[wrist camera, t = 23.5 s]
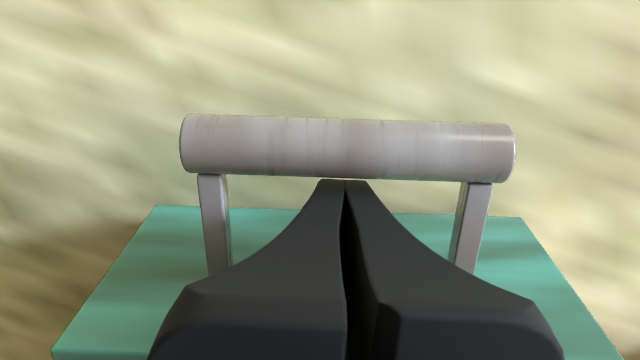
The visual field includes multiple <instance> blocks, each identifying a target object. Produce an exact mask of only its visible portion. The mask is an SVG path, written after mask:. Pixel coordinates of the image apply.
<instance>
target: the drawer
mask: <svg viewBox="0 0 640 360" xmlns="http://www.w3.org/2000/svg"><path fill="white" fill-rule="evenodd" d="M179 151H180V158H181V162H182V165H183V168H184V169H185V171H187V172H189V173H198V175H197V184H198V192H199V201H200V206H172V205H156V206H155V207H154V208H153V210H152V211H151V212H150V214H149V215H148V217H147V218H146V219H145V221H144V222H143V223H142V225H141V226H140V227H139V229H138V230H137V232H136V233H135V234H134V236H133V237H132V238H131V240H130V241H129V243H128V244H127V245H126V247H125V248H124V249H123V251H122V252H121V254H120V255H119V256H118V258H117V259H116V260H115V262H114V263H113V265H112V266H111V267H110V269H109V270H108V271H107V273H106V274H105V276H104V277H103V278H102V280H101V281H100V282H99V284H98V285H97V287H96V288H95V289H94V291H93V292H92V293H91V295H90V296H89V298H88V299H87V300H86V302H85V303H84V304H83V306H82V307H81V309H80V310H79V311H78V313H77V314H76V315H75V317H74V318H73V320H72V321H71V322H70V324H69V325H68V326H67V328H66V329H65V331H64V332H63V333H62V335H61V336H60V337H59V339H58V340H57V342H56V343H55V344H54V346H53V347H52V349H51V354H52V357H53V360H147V357H148V355H149V352H150V350H151V347H152V345H153V343H154V340H155V338H156V336H157V334H158V331H159V329H160V327H161V325H162V323H163V321H164V319H165V317H166V315H167V313H168V312H169V310H170V308H171V307H172V305H173V304H174V302H175V301H176V299H177V298H178V296H179V295H180V293H181V292H182V290H183V288H184V287H185V286H186V285H188V284H191V283H193V282H196V281H199V280H201V279H204V278H206V277H209V276H211V275H214V274H216V273H219V272H221V271H223V270H225V269H227V268H229V267H231V266H233V265H235V264H237V263H239V262H241V261H242V260H244V259H246V258H248V257H249V256H251V255H252V254H254V253H255V252H257V251H258V250H260V249H261V248H263V247H264V246H265V245H267V244H268V243H269V242H270V241H272V240H273V239H274V238H275V237H276V236H277V235H278V234H280V233H281V232H282V231H283V230H284V229H285V228H286V227H287V226H288V225H289V223H290V222H291V221H292V220H293V219H294V218H295V217H296V216H297V214H298V213H299V212H300V211H301V210H289V209H260V208H230V207H229V203H228V191H227V179H226V174H237V175H267V176H298V177H328V178H358V179H389V180H419V181H450V182H461V187H460V193H459V198H458V204H457V209H456V214H455V215H435V214H406V213H391V214H392V215H393V216H394V217H395V218H396V219H397V220H398V221H399V222H400V223H401V224H402V225H403V226H404V227H405V228H406V229H407V230H408V231H409V232H410V233H411V234H412V235H414V236H415V237H416V238H417V239H418V240H420V241H421V242H422V243H424V244H425V245H426V246H427V247H429V248H430V249H431V250H433V251H434V252H436V253H437V254H438V255H440V256H442V257H443V258H445V259H446V260H448V261H450V262H451V263H453V264H454V265H456V266H458V267H459V268H461V269H463V270H465V271H467V272H468V273H470V274H472V275H474V276H476V277H478V278H480V279H482V280H484V281H486V282H488V283H490V284H493V285H495V286H497V287H500V288H502V289H505V290H507V291H510V292H512V293H515V294H517V295H520V296H522V297H525V298H527V299H530V300H533V301H534V303H535V304H536V306H537V307H538V308H539V310H540V311H541V313H542V314H543V316H544V317H545V319H546V320H547V322H548V324H549V326H550V327H551V329H552V331H553V333H554V335H555V336H556V338H557V340H558V342H559V343H560V345H561V347H562V349H563V352H564V358H565V360H624V359H623V358H622V356H621V355H620V353H619V352H618V351H617V349H616V348H615V346H614V345H613V344H612V342H611V341H610V340H609V338H608V337H607V335H606V334H605V333H604V331H603V330H602V328H601V327H600V326H599V324H598V323H597V322H596V320H595V319H594V317H593V316H592V315H591V313H590V312H589V310H588V309H587V308H586V306H585V305H584V304H583V302H582V301H581V299H580V298H579V297H578V295H577V294H576V292H575V291H574V290H573V288H572V287H571V286H570V284H569V283H568V281H567V280H566V279H565V277H564V276H563V274H562V273H561V272H560V270H559V269H558V268H557V266H556V265H555V263H554V262H553V261H552V259H551V258H550V256H549V255H548V254H547V252H546V251H545V250H544V248H543V247H542V245H541V244H540V243H539V241H538V240H537V238H536V237H535V236H534V234H533V233H532V232H531V230H530V229H529V227H528V226H527V225H526V223H525V222H524V220H523V219H522V218H520V217H494V216H487V213H488V208H489V204H490V199H491V195H492V190H493V184H492V183H503V182H505V181H507V180H508V178H509V177H510V175H511V173H512V171H513V167H514V163H515V157H516V142H515V136H514V133H513V130H512V129H511V127H510V126H509V125H507V124H501V123H469V122H436V121H403V120H371V119H338V118H305V117H273V116H240V115H207V114H189V115H187V116H186V117H185V118H184V120H183V122H182V125H181V130H180V136H179ZM345 360H348V339H346V350H345Z"/></svg>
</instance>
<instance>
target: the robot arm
mask: <svg viewBox="0 0 640 360" xmlns="http://www.w3.org/2000/svg"><path fill="white" fill-rule="evenodd" d="M346 339H348V360H565V358H564V352H563V349H562V347H561V345H560V343H559V342H558V340H557V338H556V336H555V335H554V333H553V331H552V329H551V327H550V326H549V324H548V322H547V320H546V319H545V317H544V316H543V314H542V313H541V311H540V310H539V308H538V307H537V306H536V304H535V303H534V301H533V300H530V299H527V298H525V297H522V296H520V295H517V294H515V293H512V292H510V291H507V290H505V289H502V288H500V287H497V286H495V285H493V284H490V283H488V282H486V281H484V280H482V279H480V278H478V277H476V276H474V275H472V274H470V273H468V272H467V271H465V270H463V269H461V268H459V267H458V266H456V265H454V264H453V263H451V262H450V261H448V260H446V259H445V258H443V257H442V256H440V255H438V254H437V253H436V252H434V251H433V250H431V249H430V248H429V247H427V246H426V245H425V244H424V243H422V242H421V241H420V240H418V239H417V238H416V237H415V236H414V235H412V234H411V233H410V232H409V231H408V230H407V229H406V228H405V227H404V226H403V225H402V224H401V223H400V222H399V221H398V220H397V219H396V218H395V217H394V216H393V215H392V214H391V213H390V211H389V210H388V209H387V208H386V207H385V206H384V204H383V203H382V202H381V201H380V199H379V198H378V197H377V195H376V194H375V193H374V191H373V190H372V189H371V187H370V186H369V184H368V183H367V182H366V181H361V180H338V179H321V180H320V181H319V182H318V184H317V186H316V188H315V190H314V192H313V194H312V195H311V197H310V198H309V200H308V201H307V203H306V204H305V205H304V207H303V208H302V209H301V211H300V212H299V213H298V214H297V216H296V217H295V218H294V219H293V220H292V221H291V222H290V223H289V225H288V226H287V227H286V228H285V229H284V230H283V231H282V232H281V233H280V234H278V235H277V236H276V237H275V238H274V239H273V240H272V241H270V242H269V243H268V244H267V245H265V246H264V247H263V248H261V249H260V250H258V251H257V252H255V253H254V254H252V255H251V256H249V257H248V258H246V259H244V260H242V261H241V262H239V263H237V264H235V265H233V266H231V267H229V268H227V269H225V270H223V271H221V272H219V273H216V274H214V275H211V276H209V277H206V278H204V279H201V280H199V281H196V282H193V283H191V284H188V285H186V286H185V287H184V288H183V290H182V292H181V293H180V295H179V296H178V298H177V299H176V301H175V302H174V304H173V305H172V307H171V308H170V310H169V312H168V313H167V315H166V317H165V319H164V321H163V323H162V325H161V327H160V329H159V331H158V334H157V336H156V338H155V340H154V343H153V345H152V347H151V350H150V352H149V355H148V357H147V360H345V350H346Z"/></svg>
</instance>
